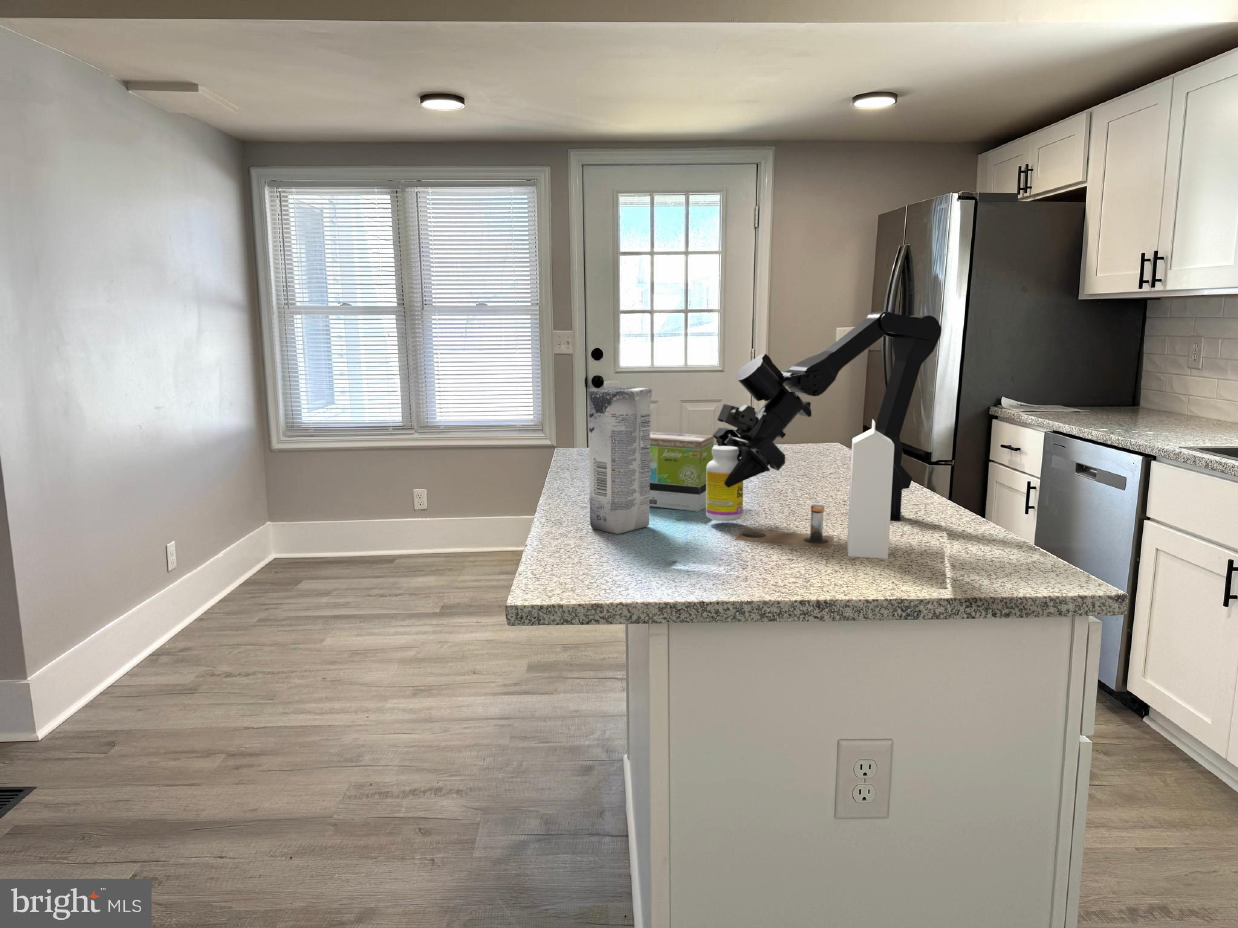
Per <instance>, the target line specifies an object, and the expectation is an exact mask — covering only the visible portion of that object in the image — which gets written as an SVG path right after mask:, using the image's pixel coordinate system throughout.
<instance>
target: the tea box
mask: <svg viewBox="0 0 1238 928" xmlns="http://www.w3.org/2000/svg"><path fill="white" fill-rule="evenodd" d="M714 439H715V438H714V437H713V435H708V434H707V435H705V434H704V435H703V434H694V433H693V434H692V433H681V432H680V433H676V432H661V431H650V505H649V507H654V508H665V509H672V510H681V511H689V512H694V511H696V513H699V512H700V511H701V509H702V510H703V509H704V508H706V467H707V464H708V463H709V462H710V461H712V460H713V456H712V455H713V454H712V448H713V447H715V446H714V443H715V441H714Z"/></svg>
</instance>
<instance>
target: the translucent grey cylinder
mask: <svg viewBox="0 0 1238 928" xmlns="http://www.w3.org/2000/svg"><path fill="white" fill-rule="evenodd" d="M824 513H825V506H824V505H823V504H819V503H818V504H817V503H815V504H811V506H810V529H809V530H810V531H809V534H810V541H814V542H821V541H822V536H823V534H824V533H823V531H824Z"/></svg>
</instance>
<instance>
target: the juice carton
mask: <svg viewBox="0 0 1238 928" xmlns="http://www.w3.org/2000/svg"><path fill="white" fill-rule="evenodd" d="M620 382H621V381H620V380H610V381H604V382H603V384H604V385H603V386H604V388H590V389H588V390H587V393H588V394H587V395H588V406H589V407H588V410H589V411H588V414H589V415H588V417H589V419H588V422H589V426H588V427H589V431H588V433H589V437H588V439H589V440H588V441H589V443H588V445H589V446H588V447H589V450H588V451H589V452H588V453H589V459H588V461H589V522H590V524H589V525H590V528H591V529H594V530H597V531H598V530H599V531H604V532H607V533H611V534H615V535H620V534H623V533H628V532H631V531H635V530H639V529H644V528H646V527H648V526H649V525H650V506H649V505H650V432H651V404H652V403H651V401H652V393H653V391H652V388H649V387H648V388H647V387H637V386H621V384H620Z"/></svg>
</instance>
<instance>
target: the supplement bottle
mask: <svg viewBox="0 0 1238 928" xmlns="http://www.w3.org/2000/svg"><path fill="white" fill-rule="evenodd" d="M712 454H713V455H712V456H713V460H712V461H710V462H709V463H708V464H707V467H706V507H705V515H706V517H707V518H708V519H711V520H714V521H719V522H720V521H721V522H722V521H724V522H728V521H729V522H730V521H736V520H740V519H741V518H742V517H743V514H744V513H743V511H744V510H743V509H744V481H742V482H740V483H737V484H735V485H733V486H731V487H727V486H726V485H725V484H724V482H725V481H726V479H727V478H728V476H729V475H730V473H731V472H732V470H733V469H734V467H735V466H736V465H737V463H738V462H739V461H737V456H738V448H737V447H733V446H718V445H717V446H714V447H713V448H712Z"/></svg>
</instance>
